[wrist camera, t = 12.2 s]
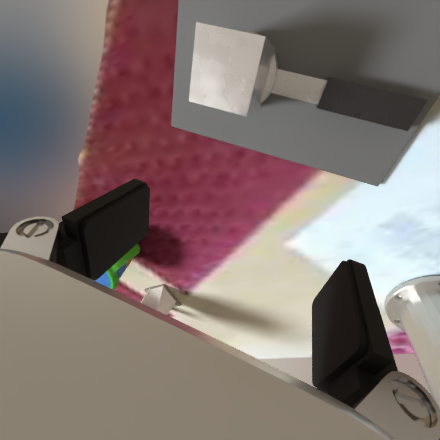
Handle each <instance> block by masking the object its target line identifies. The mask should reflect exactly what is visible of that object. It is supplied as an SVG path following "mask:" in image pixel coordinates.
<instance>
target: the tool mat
mask: <svg viewBox="0 0 440 440" xmlns="http://www.w3.org/2000/svg"><path fill="white" fill-rule="evenodd" d="M196 22H199V23H204V24H208V25H213V26H218V27H223V28H228V29H232V30H237V31H252V32H255V33H257V34H259V35H261V36H266V37H267V39H268V40H269V41H270V42H271V43H272V44H273V45H274V46H275V47H276V48H275V53H276V56H277V60H278V69H280V70H284V71H289V72H293V73H297V74H301V75H306V76H310V77H314V78H318V79H323V80H326V79H327V77H331V78H336V79H340V80H344V81H349V82H353V83H357V84H362V85H366V86H370V87H375V88H379V89H383V90H388V91H392V92H396V93H401V94H405V95H409V96H414V97H418V98H422V99H427V100H428V101H427V103H426V104H425V106H424V107H423V109H422V110H421V112H420V114H419V115H418V117H417V118H416V120H415V121H414V123H413V124H412V126H411V127H410V129H409V130H408V131H404V130H400V129H397V128H393V127H389V126H385V125H381V124H377V123H373V122H369V121H365V120H361V119H357V118H353V117H349V116H345V115H341V114H337V113H333V112H329V111H325V110H321V109H318V108H316V104H313V103H309V102H305V101H301V100H297V99H293V98H289V97H285V96H281V95H277V94H273V93H271V94H270V95H269V97H268V98H267V99H266V100H265V101H264V102H262V103H261V105H260V108H259V109H257V110H256V111H254V112H253V113H251V114H250V115H248V116H247V117H246V116H242V115H238V114H235V113H231V112H227V111H223V110H220V109H216V108H212V107H209V106H205V105H201V104H197V103H194V102H190V101H189V93H190V82H191V72H192V61H193V50H194V40H195V29H196ZM439 95H440V0H179V5H178V22H177V39H176V55H175V72H174V89H173V105H172V122H171V126H173V127H176V128H180V129H183V130H186V131H190V132H193V133H197V134H200V135H204V136H207V137H210V138H214V139H217V140H221V141H224V142H228V143H231V144H234V145H238V146H241V147H245V148H248V149H251V150H255V151H258V152H262V153H265V154H269V155H272V156H275V157H279V158H282V159H286V160H289V161H293V162H296V163H299V164H303V165H306V166H310V167H313V168H316V169H320V170H323V171H327V172H330V173H334V174H337V175H340V176H344V177H347V178H351V179H354V180H358V181H361V182H364V183H368V184H371V185H375V186H379V184H380V183H381V181H382V180H383V178H384V177H385V175H386V174H387V172H388V171H389V169H390V168H391V166H392V165H393V163H394V162H395V160H396V159H397V157H398V156H399V154H400V153H401V151H402V150H403V148H404V147H405V145H406V144H407V142H408V141H409V139H410V138H411V137H412V135H413V134H414V132H415V131H416V129H417V128H418V126H419V125H420V123H421V122H422V120H423V119H424V117H425V116H426V114H427V113H428V111H429V110H430V108H431V107H432V105H433V104H434V102H435V101H436V99H437V98H438V96H439Z"/></svg>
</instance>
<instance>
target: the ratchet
mask: <svg viewBox="0 0 440 440" xmlns="http://www.w3.org/2000/svg"><path fill="white" fill-rule="evenodd" d="M242 32H247V33H251V34H256V35H259V34H257V33H255V32H252V31H242ZM271 93H273V94H277V95H281V96H285V97H289V98H293V99H297V100H301V101H305V102H309V103H313V104H316V108H318V109H321V110H325V111H329V112H333V113H337V114H341V115H345V116H349V117H353V118H357V119H361V120H365V121H369V122H373V123H377V124H381V125H385V126H389V127H393V128H397V129H400V130H404V131H408V130H409V129H410V127H411V126H412V124H413V123H414V121H415V120H416V118H417V117H418V115H419V114H420V112H421V110H422V109H423V107H424V106H425V104H426V103H427V101H428V100H427V99H422V98H418V97H414V96H409V95H405V94H401V93H396V92H392V91H388V90H383V89H379V88H375V87H370V86H366V85H362V84H357V83H353V82H349V81H344V80H340V79H336V78H331V77H327V79H326V80H323V79H318V78H314V77H310V76H306V75H301V74H297V73H293V72H289V71H284V70H280V69H278V60H277V56H276V53H275V52H274V55H273V59H272V63H271V67H270V70H269V74H268V78H267V82H266V86H265V89H264V93H263V97H262V101H261V103H262V102H264V101H265V100H266V99H267V98H268V97H269V95H270V94H271Z"/></svg>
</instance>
